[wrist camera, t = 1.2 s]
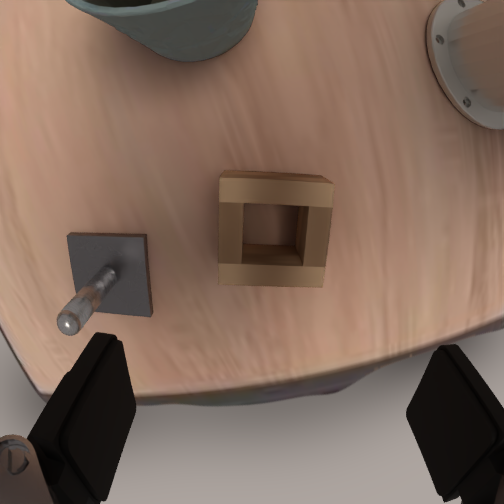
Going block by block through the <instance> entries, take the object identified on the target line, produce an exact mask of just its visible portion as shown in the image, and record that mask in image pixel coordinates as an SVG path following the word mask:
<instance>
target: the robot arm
mask: <svg viewBox="0 0 504 504" xmlns="http://www.w3.org/2000/svg"><path fill="white" fill-rule="evenodd" d="M427 47H428V54H429V58H430V61H431V64H432V68H433V71H434V73H435V75H436V77H437V80H438V82H439V84H440V86H441V87H442V89H443V91H444V92H445V94H446V96H447V97H448V98H449V100H450V101H451V102H452V104H453V105H454V106H455V107H456V108H457V109H458V110H459V111H460V112H461V113H462V114H463V115H464V116H465V117H466V118H468V119H469V120H470V121H472V122H473V123H475V124H477V125H479V126H481V127H484V128H489V129H500V130H502V129H504V0H488V1H486V2H482V1H480V0H444V1H442V2H441V3H439V4H438V5H437V6H436V7H435V8H434V9H433V11H432V13H431V15H430V17H429V20H428V25H427ZM135 413H136V401H135V397H134V393H133V389H132V385H131V381H130V376H129V372H128V367H127V362H126V358H125V353H124V348H123V343H122V341H120V340H117V337H116V335H113V334H107V333H100V332H96V333H95V334H94V335H93V337H92V338H91V340H90V341H89V343H88V344H87V346H86V347H85V349H84V350H83V352H82V353H81V355H80V356H79V358H78V360H77V361H76V363H75V364H74V366H73V367H72V369H71V370H70V371H69V372H67V373H66V374H65V375H64V377H63V379H62V380H61V382H60V383H59V385H58V386H57V388H56V390H55V391H54V393H53V395H52V396H51V398H50V399H49V401H48V403H47V404H46V406H45V408H44V409H43V411H42V413H41V414H40V416H39V418H38V420H37V422H36V423H35V425H34V427H33V428H32V430H31V432H30V434H29V435H28V437H27V439H26V438H24V437H22V436H19V435H5V436H3V437H1V438H0V504H100V502H101V501H106V499H107V497H108V495H109V491H110V488H111V485H112V482H113V479H114V475H115V472H116V469H117V466H118V463H119V460H120V457H121V453H122V451H123V448H124V445H125V442H126V439H127V436H128V433H129V430H130V428H131V425H132V422H133V419H134V416H135ZM406 417H407V420H408V422H409V425H410V427H411V429H412V432H413V434H414V436H415V439H416V441H417V443H418V446H419V448H420V450H421V453H422V455H423V458H424V461H425V463H426V466H427V468H428V471H429V473H430V475H431V478H432V481H433V483H434V486H435V489H436V491H437V493H438V494H439V496H442V498H443V501H444V502H448V501H451V500H453V499H456V498H458V497H459V496H460V497H461V499H462V501H461V504H504V408H503V407H502V405H501V404H500V402H499V401H498V399H497V398H496V397H495V395H494V394H493V392H492V391H491V389H490V388H489V386H488V385H487V384H486V382H485V381H484V380H483V378H482V377H481V375H480V374H479V373H478V371H477V370H476V369H475V367H474V366H473V365H472V363H471V362H470V361H469V359H468V358H467V357H466V355H465V354H464V353H463V351H462V350H461V349H460V348H459V346H458V345H456V344H451V345H441V346H439V347H438V349H437V350H436V351H434V353H433V355H432V357H431V359H430V362H429V364H428V366H427V368H426V370H425V373H424V375H423V377H422V379H421V382H420V384H419V385H418V388H417V390H416V392H415V394H414V396H413V398H412V400H411V402H410V404H409V406H408V407H407V411H406Z"/></svg>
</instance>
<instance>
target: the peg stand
mask: <svg viewBox="0 0 504 504" xmlns="http://www.w3.org/2000/svg"><path fill="white" fill-rule="evenodd" d="M67 242H68V249H69V256H70V262H71V268H72V274H73V280H74V285H75V290H76V295H75V296H74V297H73V298H72V299H71V301H70V302H69V303H68V304H67V305H66V306H65V307H64V308H63V309H62V310H61V312H60V313H59V314H58V317H57V326H58V328H59V330H60V331H61V332H62V333H63V334H65V335H68V336H72V335H76V334H77V333H78V332H79V331H80V330H81V329H82V327H83V326H84V325H85V323H86V322H87V321H88V319H89V318H90V317H91V315H92V314H93V313H94V312H103V313H112V314H122V315H132V316H144V317H151V316H152V314H153V306H152V297H151V287H150V276H149V264H148V250H147V235H146V234H116V233H73V232H71V233H70V234H68V235H67Z"/></svg>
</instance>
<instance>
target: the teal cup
mask: <svg viewBox="0 0 504 504" xmlns="http://www.w3.org/2000/svg"><path fill="white" fill-rule="evenodd" d="M66 1H67V2H68V3H69V4H70V5H72V6H74V7H76V8H77V9H79V10H81V11H83V12H85V13H88V14H90V15H92V16H94V17H96V18H98V19H100V20H102V21H104V22H106V23H107V24H109V25H111V26H114V27H115V28H116V29H117V30H119V31H120V32H122V33H124V34H127V35H128V36H129V37H130V38H132V39H134V40H136V41H138V42H140V43H141V44H143V45H145V46H147V47H148V48H150V49H151V50H153V51H154V52H156V53H157V54H159V55H161V56H163V57H166V58H169V59H171V60H176V61H183V62H194V61H202V60H206V59H210V58H213V57H215V56H218V55H220V54H222V53H224V52H226V51H227V50H229V49H231V48H232V47H233V46H235V45H236V44H237V43H238V42H239V41H240V40H241V39H242V38H243V37H244V36H245V34H246V33H247V32H248V30H249V28H250V26H251V24H252V21H253V18H254V14H255V10H256V6H257V5H258V0H66Z"/></svg>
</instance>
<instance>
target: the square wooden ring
mask: <svg viewBox="0 0 504 504" xmlns="http://www.w3.org/2000/svg"><path fill="white" fill-rule="evenodd" d="M334 189H335V184H334V183H333V182H331V181H329V180H328V179H326V178H324V177H323V176H320V175H307V174H292V173H276V172H256V171H228V170H224V172H223V173H222V175H221V176H220V179H219V230H218V284H223V285H248V286H278V287H319V288H322V287H323V280H324V273H325V266H326V259H327V251H328V243H329V235H330V227H331V218H332V209H333V199H334ZM244 203H258V204H279V205H298V206H299V207H298V219H297V231H296V242H295V246H285V245H260V244H243V221H244Z"/></svg>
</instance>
